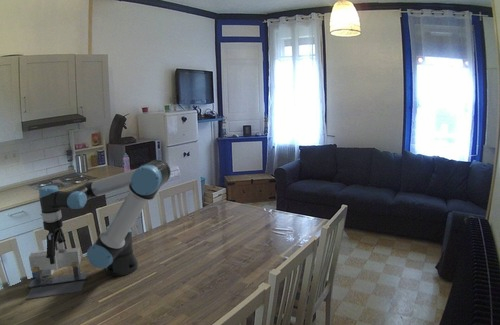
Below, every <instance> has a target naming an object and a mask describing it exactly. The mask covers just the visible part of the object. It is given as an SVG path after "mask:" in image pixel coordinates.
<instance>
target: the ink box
mask: <svg viewBox="0 0 500 325" xmlns="http://www.w3.org/2000/svg"><path fill="white" fill-rule="evenodd" d="M45 251H47V249H44V250H33V251H32V252H30V254H29V256H30V255H31V254H32V253H37V252H45ZM54 272H55V270H50V269H45V270H42V276H43V277H44V278H45V277H52V275H53V274H54ZM31 275H32V278H33V279H35V278H34V277H35V273H34V272H33V271H31Z"/></svg>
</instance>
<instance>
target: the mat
mask: <svg viewBox="0 0 500 325" xmlns="http://www.w3.org/2000/svg"><path fill="white" fill-rule="evenodd" d="M85 282H86V280H85V281H80V282H73V283H66V284H59V285H52V286H45V287H38V288H31V289H30V291H29V293H28V295H27V296H26V297H25V300H26V301H27V300H33V299H40V298H48V297H53V296H59V295H60V296H61V295H67V294H74V293H78V292H79V293H80V292H82V291H83V288H84V286H85Z"/></svg>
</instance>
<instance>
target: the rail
mask: <svg viewBox="0 0 500 325" xmlns="http://www.w3.org/2000/svg"><path fill="white" fill-rule="evenodd" d="M80 252H81V251H80V247H74V248H72V247H71V248H64V249H62V250H58V249H57V250H56V249H55V256H56V260H57V268H66V267H67V268H68V267H72V266H71V264H72V263H76V264H77V265H79V266H80V264H81V262H82V258H81V253H80ZM31 253H32V252H31ZM31 253H30V254H31ZM30 254H29V256H28V260H29V267H30V271H31V272H32V269H33V268H38V270H45V269H50V263H49V258H46V256H47V251H45V252H37V253H32V254H31V255H30Z"/></svg>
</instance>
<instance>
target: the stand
mask: <svg viewBox="0 0 500 325" xmlns="http://www.w3.org/2000/svg"><path fill="white" fill-rule="evenodd" d="M70 267H71V268H72V273H73V274H67V275H60V276H59V275H58V276H49V277H44V278H43V276H42V270H38V268H33V269H32V271H33V272H34V273H35V278H34V279H32V280H31V281H30V283H29V284H28V285H27V289H28V290H31V289H32V288H39V287H46V286H53V285H60V284H67V283H74V282H81V281H85V282H86V280H87V277H88V273H89V272H81V271H80V264H79V265H77V264H76V263H72V264H71V266H70ZM32 271H31V272H32Z"/></svg>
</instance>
